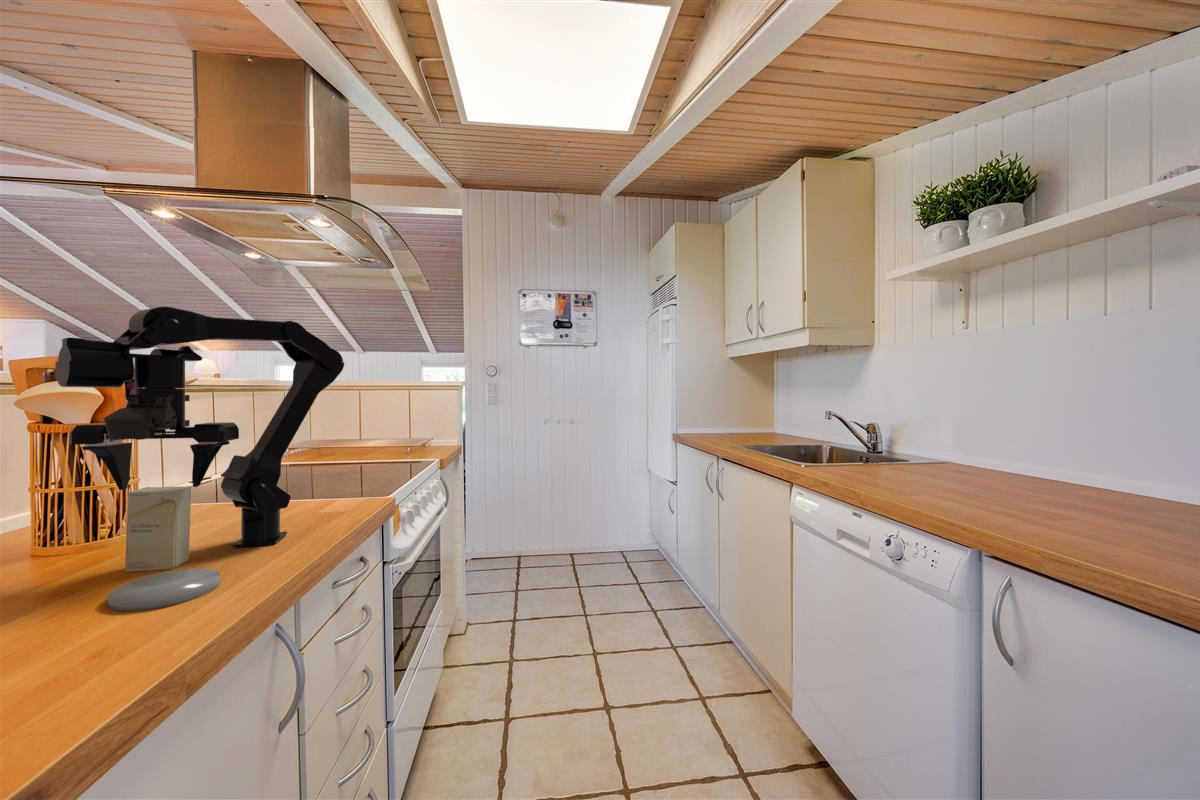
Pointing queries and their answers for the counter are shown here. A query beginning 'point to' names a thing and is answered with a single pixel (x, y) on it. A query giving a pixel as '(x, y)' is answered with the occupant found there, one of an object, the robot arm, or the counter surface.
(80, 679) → the counter surface
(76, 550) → the counter surface
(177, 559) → the skincare box
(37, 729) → the counter surface
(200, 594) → the coaster
